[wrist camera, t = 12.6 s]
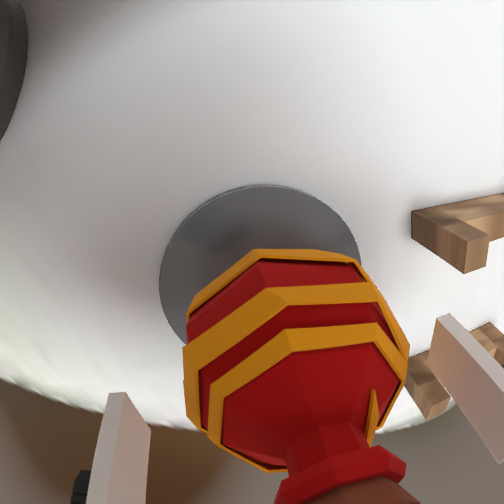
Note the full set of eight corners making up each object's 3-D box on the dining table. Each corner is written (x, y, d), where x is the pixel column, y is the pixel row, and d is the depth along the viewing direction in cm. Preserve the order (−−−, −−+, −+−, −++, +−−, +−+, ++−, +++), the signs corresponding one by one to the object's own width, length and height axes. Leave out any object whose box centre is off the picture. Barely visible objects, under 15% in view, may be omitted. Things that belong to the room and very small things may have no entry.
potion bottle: (295, 370, 23) (363, 554, 9) (161, 328, 20) (136, 563, 6) (374, 251, 20) (545, 410, 6) (229, 178, 17) (330, 396, 3)
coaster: (192, 375, 23) (192, 382, 22) (135, 211, 18) (132, 215, 17) (357, 338, 23) (360, 344, 22) (349, 168, 18) (355, 170, 17)
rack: (397, 376, 26) (426, 420, 20) (411, 211, 20) (467, 241, 14) (485, 336, 26) (517, 368, 21) (511, 191, 20) (560, 212, 15)
